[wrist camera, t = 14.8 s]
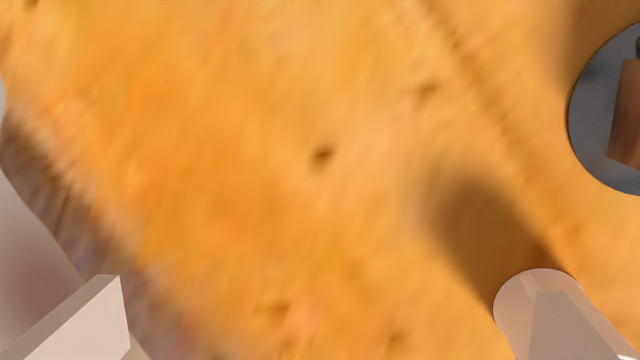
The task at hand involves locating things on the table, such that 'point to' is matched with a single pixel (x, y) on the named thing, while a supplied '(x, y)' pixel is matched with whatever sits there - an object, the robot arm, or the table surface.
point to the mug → (519, 302)
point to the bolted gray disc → (602, 111)
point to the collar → (626, 117)
